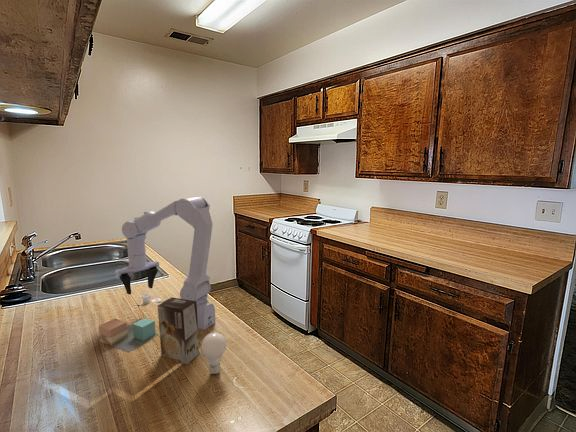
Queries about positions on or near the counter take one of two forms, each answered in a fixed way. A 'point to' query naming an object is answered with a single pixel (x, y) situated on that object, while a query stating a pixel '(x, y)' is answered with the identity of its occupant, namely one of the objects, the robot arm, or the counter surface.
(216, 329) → the counter surface
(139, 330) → the teal block
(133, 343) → the slate board
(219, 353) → the lightbulb
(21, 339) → the counter surface
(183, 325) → the coffee box
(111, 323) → the terracotta slab
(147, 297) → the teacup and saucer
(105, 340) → the maple slab
